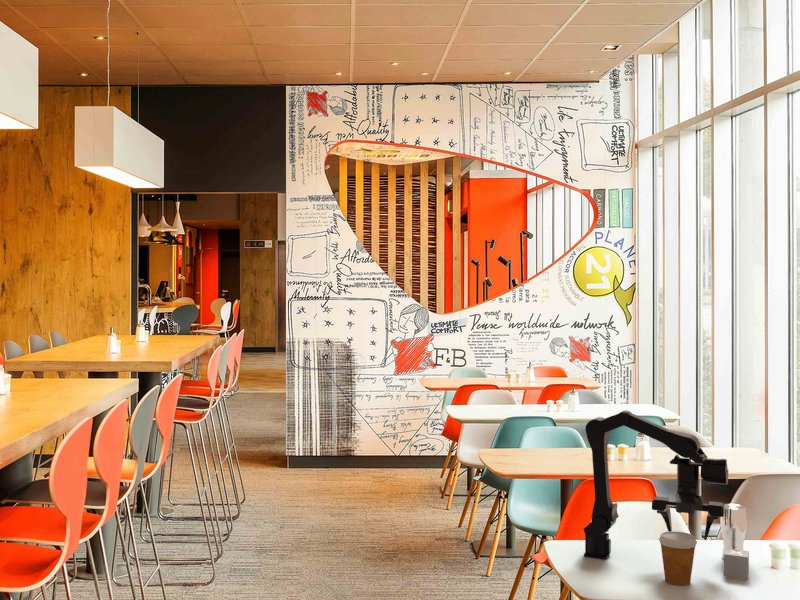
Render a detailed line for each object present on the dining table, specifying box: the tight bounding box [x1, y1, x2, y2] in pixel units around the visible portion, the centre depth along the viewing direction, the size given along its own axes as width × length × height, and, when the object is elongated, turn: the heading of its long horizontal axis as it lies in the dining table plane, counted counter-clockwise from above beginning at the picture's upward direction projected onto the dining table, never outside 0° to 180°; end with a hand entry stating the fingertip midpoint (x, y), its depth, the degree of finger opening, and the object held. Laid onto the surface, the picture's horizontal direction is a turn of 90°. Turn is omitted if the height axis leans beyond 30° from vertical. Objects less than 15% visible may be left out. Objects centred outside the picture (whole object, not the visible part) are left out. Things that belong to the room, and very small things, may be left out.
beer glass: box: [719, 503, 747, 560], centre depth 237 cm, size 7×7×15 cm
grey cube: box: [723, 548, 750, 580], centre depth 223 cm, size 6×6×6 cm
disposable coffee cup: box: [658, 530, 698, 586], centre depth 217 cm, size 10×10×12 cm
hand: (688, 537), depth 228 cm, fingers open, 9 cm apart
